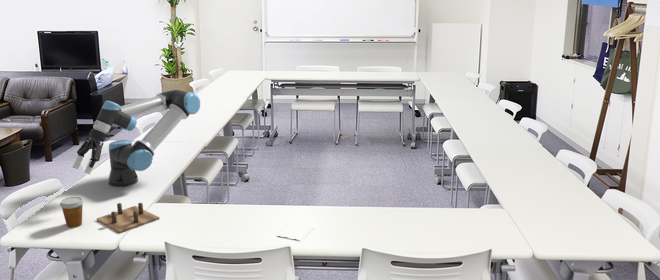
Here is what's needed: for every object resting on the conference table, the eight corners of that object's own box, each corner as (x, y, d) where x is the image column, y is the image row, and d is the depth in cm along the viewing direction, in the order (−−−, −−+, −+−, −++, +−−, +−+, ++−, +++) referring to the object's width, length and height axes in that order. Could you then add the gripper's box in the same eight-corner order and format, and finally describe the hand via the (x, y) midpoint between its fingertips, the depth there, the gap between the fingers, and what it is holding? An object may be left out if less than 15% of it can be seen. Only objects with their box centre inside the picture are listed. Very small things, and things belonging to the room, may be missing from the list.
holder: (135, 207, 268) (134, 196, 266) (159, 219, 256) (158, 207, 254) (96, 220, 253) (95, 208, 251) (120, 233, 241) (118, 220, 239)
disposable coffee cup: (78, 218, 255) (75, 194, 251) (90, 224, 249) (87, 199, 246) (58, 225, 247) (55, 200, 244) (70, 231, 242) (67, 206, 239)
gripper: (82, 124, 275) (63, 163, 271) (104, 131, 258) (84, 173, 254) (95, 130, 280) (77, 168, 277) (118, 137, 264) (99, 178, 260)
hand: (80, 170), depth 265 cm, fingers open, 13 cm apart
